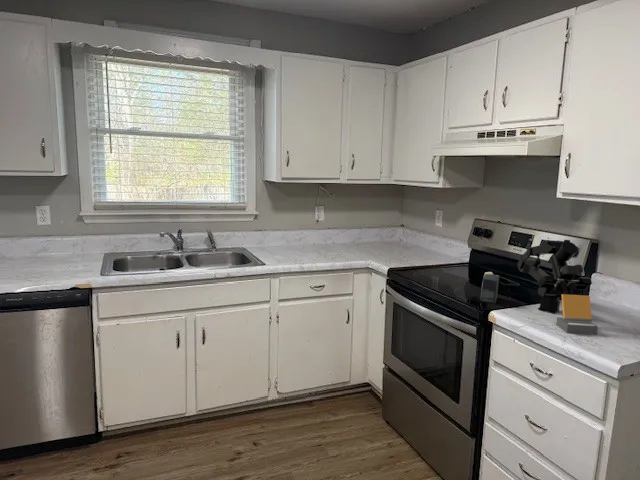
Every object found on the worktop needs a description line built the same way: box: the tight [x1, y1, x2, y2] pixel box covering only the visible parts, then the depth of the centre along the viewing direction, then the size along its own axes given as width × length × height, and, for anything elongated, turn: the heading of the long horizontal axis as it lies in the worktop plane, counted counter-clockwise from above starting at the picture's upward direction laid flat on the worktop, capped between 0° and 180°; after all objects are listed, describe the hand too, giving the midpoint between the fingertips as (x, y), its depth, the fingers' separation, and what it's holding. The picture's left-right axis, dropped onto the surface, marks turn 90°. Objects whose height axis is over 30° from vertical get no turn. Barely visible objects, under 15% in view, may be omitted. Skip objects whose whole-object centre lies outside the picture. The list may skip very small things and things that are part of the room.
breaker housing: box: [555, 317, 599, 335], centre depth 171 cm, size 8×11×3 cm
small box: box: [480, 273, 500, 305], centre depth 204 cm, size 11×6×10 cm, turn 155°
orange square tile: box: [561, 294, 593, 323], centre depth 172 cm, size 1×10×10 cm, turn 89°
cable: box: [483, 271, 521, 287], centre depth 238 cm, size 16×16×4 cm
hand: (570, 301), depth 177 cm, fingers closed
